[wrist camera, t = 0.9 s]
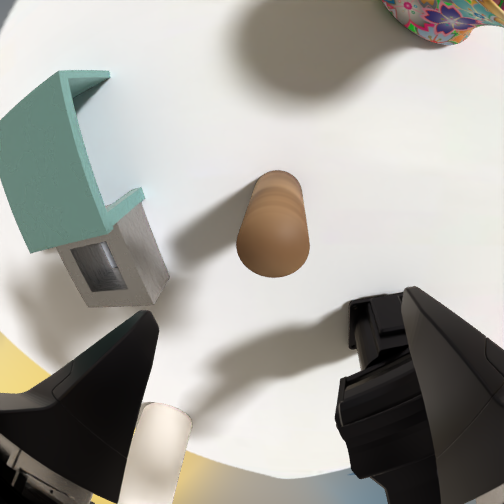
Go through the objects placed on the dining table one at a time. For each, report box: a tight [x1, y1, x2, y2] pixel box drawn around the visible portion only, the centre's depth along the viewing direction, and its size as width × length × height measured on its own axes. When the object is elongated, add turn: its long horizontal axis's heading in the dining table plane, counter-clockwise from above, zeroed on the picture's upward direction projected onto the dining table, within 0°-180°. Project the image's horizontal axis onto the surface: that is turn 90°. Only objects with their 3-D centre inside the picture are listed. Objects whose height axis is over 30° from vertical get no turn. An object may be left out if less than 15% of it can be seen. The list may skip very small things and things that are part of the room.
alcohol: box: [118, 403, 192, 504], centre depth 28 cm, size 9×9×30 cm
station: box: [0, 70, 170, 307], centre depth 19 cm, size 19×10×6 cm, turn 12°
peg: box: [236, 170, 310, 278], centre depth 17 cm, size 4×4×8 cm
